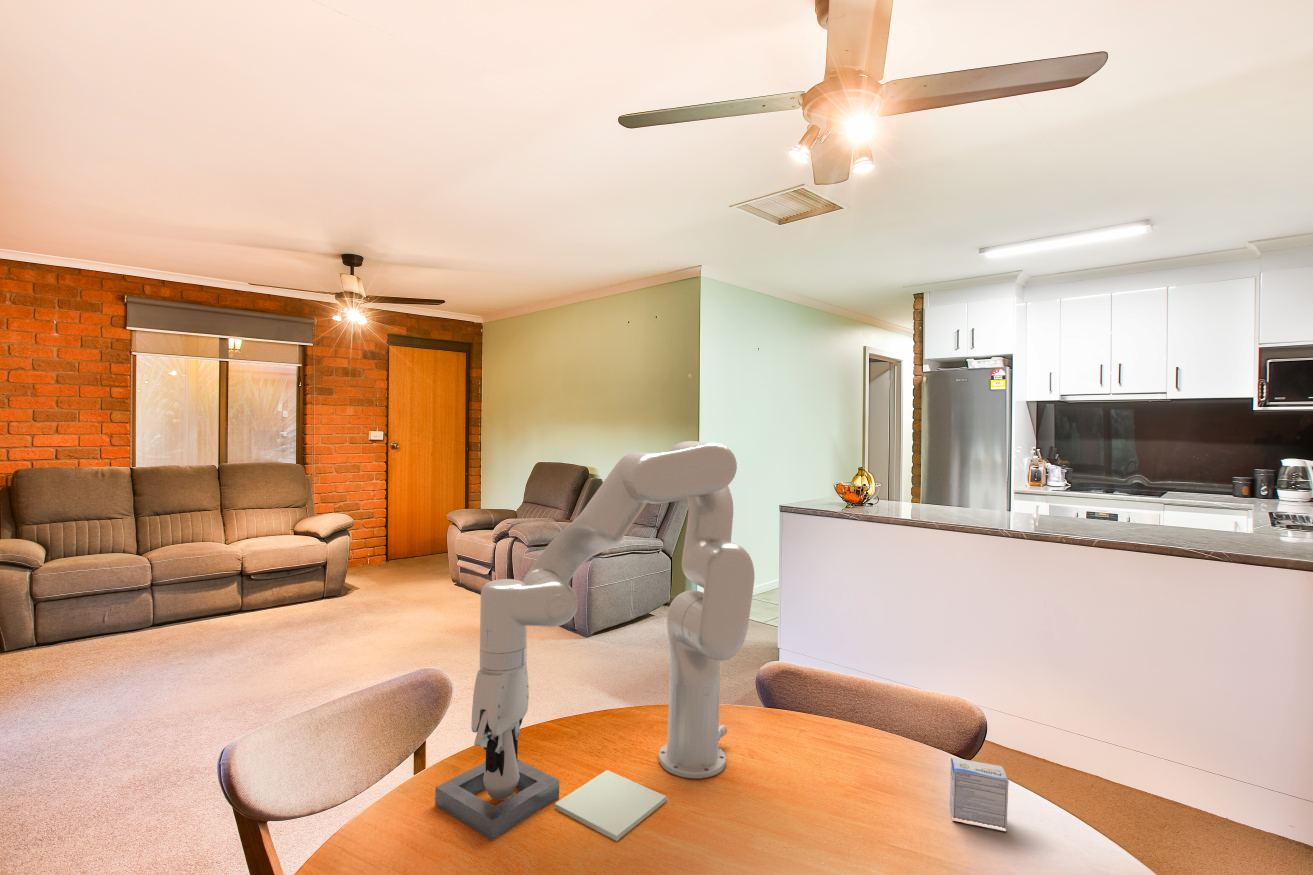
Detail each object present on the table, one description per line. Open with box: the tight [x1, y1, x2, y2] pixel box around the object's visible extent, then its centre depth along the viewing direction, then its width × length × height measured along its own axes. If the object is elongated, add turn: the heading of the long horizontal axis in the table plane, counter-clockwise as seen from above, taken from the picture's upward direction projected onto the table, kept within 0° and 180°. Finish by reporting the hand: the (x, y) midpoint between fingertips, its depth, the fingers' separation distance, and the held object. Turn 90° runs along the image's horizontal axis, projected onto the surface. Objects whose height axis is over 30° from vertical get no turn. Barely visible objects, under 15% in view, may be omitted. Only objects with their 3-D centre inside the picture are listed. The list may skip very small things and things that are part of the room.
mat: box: [554, 769, 667, 842], centre depth 102 cm, size 13×13×1 cm
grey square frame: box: [434, 759, 560, 841], centre depth 102 cm, size 14×14×3 cm
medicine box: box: [949, 757, 1010, 830], centre depth 101 cm, size 8×4×9 cm, turn 71°
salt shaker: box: [483, 722, 520, 801], centre depth 102 cm, size 6×6×13 cm
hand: (501, 767), depth 102 cm, fingers closed on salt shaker, 3 cm apart
